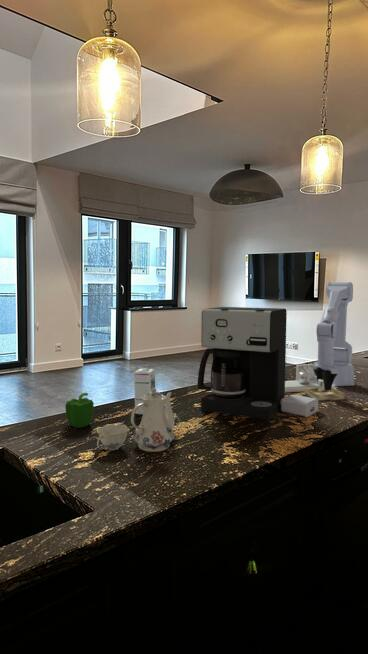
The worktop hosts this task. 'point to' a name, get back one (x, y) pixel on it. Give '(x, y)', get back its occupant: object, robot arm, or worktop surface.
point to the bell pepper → (79, 411)
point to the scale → (294, 385)
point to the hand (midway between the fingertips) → (324, 388)
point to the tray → (324, 394)
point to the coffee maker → (244, 360)
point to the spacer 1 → (304, 378)
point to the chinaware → (144, 425)
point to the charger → (299, 405)
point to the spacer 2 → (321, 385)
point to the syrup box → (143, 385)
